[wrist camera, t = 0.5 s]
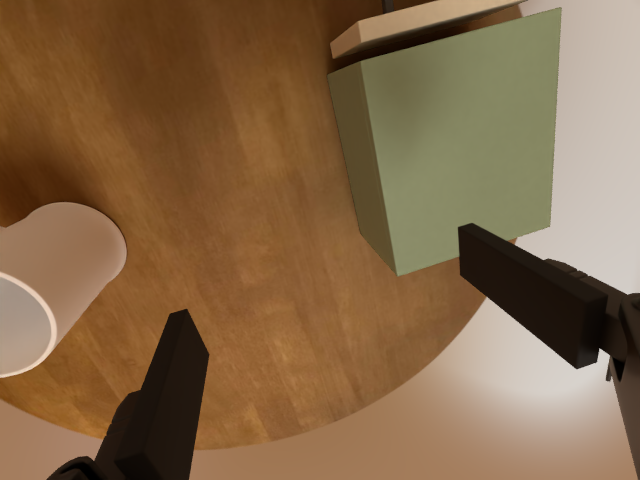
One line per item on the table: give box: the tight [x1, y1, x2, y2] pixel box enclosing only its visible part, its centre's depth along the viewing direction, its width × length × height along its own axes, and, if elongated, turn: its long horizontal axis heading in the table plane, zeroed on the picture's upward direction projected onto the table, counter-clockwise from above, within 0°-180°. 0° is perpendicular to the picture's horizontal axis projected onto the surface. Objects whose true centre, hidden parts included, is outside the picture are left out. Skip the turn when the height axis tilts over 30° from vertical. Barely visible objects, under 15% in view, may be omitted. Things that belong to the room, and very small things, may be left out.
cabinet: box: [327, 7, 562, 276], centre depth 28 cm, size 16×14×10 cm
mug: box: [0, 202, 127, 377], centre depth 24 cm, size 12×8×12 cm
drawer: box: [330, 0, 527, 59], centre depth 26 cm, size 20×13×8 cm, turn 14°
